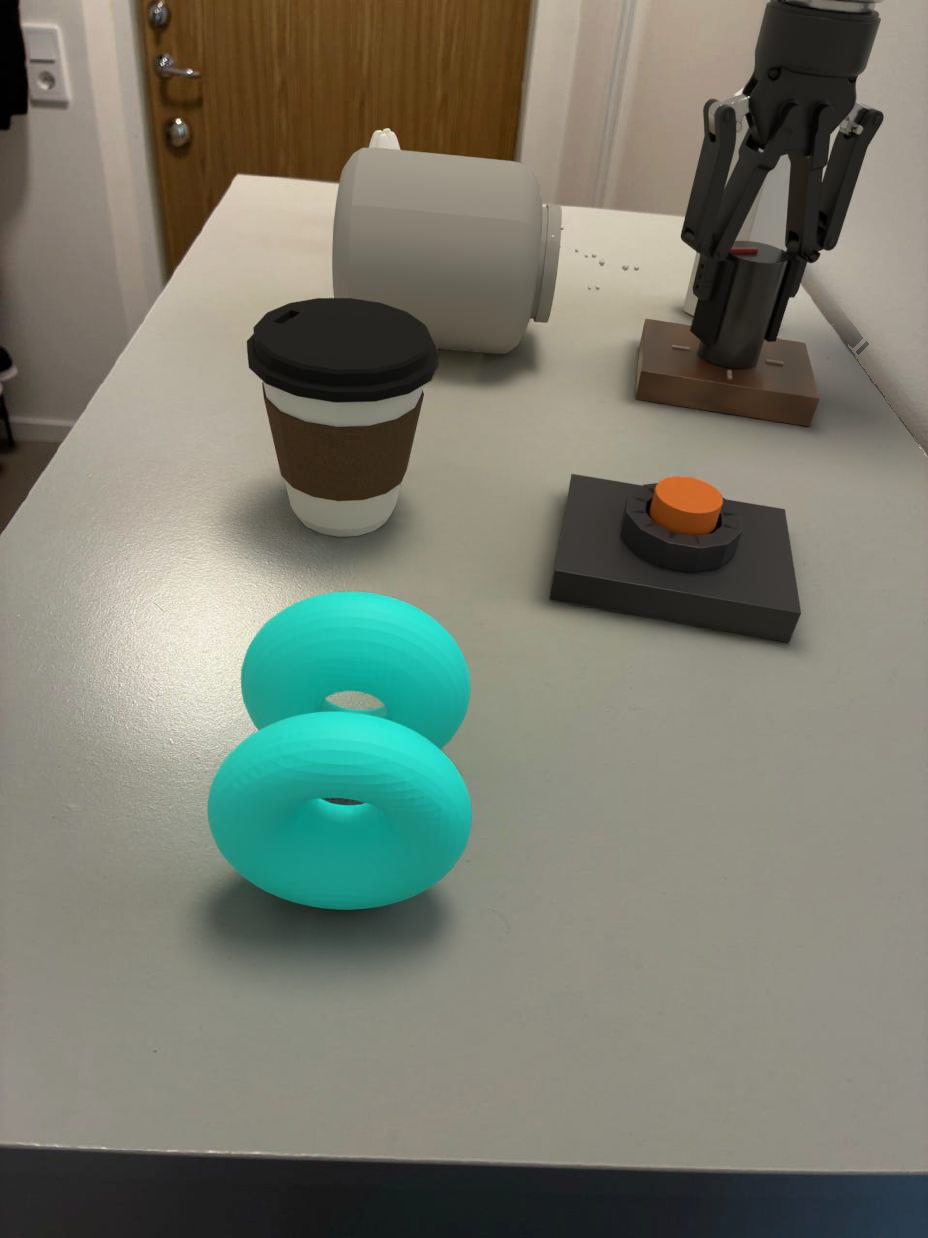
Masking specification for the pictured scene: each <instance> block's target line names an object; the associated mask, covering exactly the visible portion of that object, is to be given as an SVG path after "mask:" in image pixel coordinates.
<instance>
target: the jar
mask: <svg viewBox="0 0 928 1238" xmlns="http://www.w3.org/2000/svg"><path fill="white" fill-rule="evenodd" d="M338 183H339V184H338V188H337V194H336V201H335V208H334V217H333V227H332V246H331V248H332V249H331V272H332V273H331V274H332V275H331V278H332V290H333V291H332V292H333V298H353V299H359V300H366V301H372V302H379V303H383V304H386V305H389V306H392V307H394V308H397V309H400V310H403V311H406V312H408V313H409V314H411V315H412V316H413V317H415V318H416V319H418V320H419V321H421V322H422V323H423V324H425V325H426V326H427V328H428V331H429V333H430V335H431V338H432V340H433V342H434V344H435V346H436V349H441V350H451V351H453V350H454V351H463V352H474V353H484V354H506V353H508V352H510V351H512V350H514V349H515V348H516V347H517V346H518V345H519V343H520V342H521V341H522V339H524V336H525V334H526V331H527V329H528V327H529V323H530V320H531V319H532V320H533V322H534V323H545V324H547V323H548V322H549V320H550V317H551V313H552V308H553V303H554V297H555V292H556V291H555V290H556V284H557V277H558V269H559V261H560V251H561V250H560V249H561V242H562V241H561V240H562V231H563V230H564V229H565V227H564V226H563V225H562V223H563V211H562V205H559V204H548V203H547V204H546V206H543V200H542V193H541V186H540V183H539V181H538V179H537V176H536V175H535V173H534V171H533V170H532V169H531V168H530V167H529V166H528V165H527V164H525V163H522V162H518V161H514V160H507V159H506V160H505V159H494V158H485V157H476V156H475V157H474V156H465V155H454V154H446V153H445V154H444V153H435V152H425V151H424V152H423V151H417V150H416V151H415V150H406V149H405V150H404V149H400V150H395V149H385V148H369V147H361V148H360V149H358V150H357V151H355V152H353V153H352V155H350V157H349V159H348V161H347V162H346V163H345V164H344V166H343V168H342V170H341V174H340V177H339V182H338ZM574 252H575V253H579V248H575V249H574ZM588 257H589V254H588V253H586V254H584V258H586V259H588ZM591 258H593V259H595V258H597V254H596V253H595V252H593V253H592V254H591ZM605 263H606V262H605V260H604V259H600V260H599V262H598V264H599V266H600V267H603V266H604V265H605ZM621 269H622V270H623V271H628V270H629V269H630V265H629V264H627V263H624V264H623V265H622V267H621ZM633 270H634V271H636V272H637V271H639V270H640V266H639V265H637V264H636V265H634V267H633ZM600 289H601V286H600V285H596V286H595V290H596V291H599V290H600ZM587 290H588V291H592V286H588V287H587Z"/></svg>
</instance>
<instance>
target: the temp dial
mask: <svg viewBox="0 0 928 1238" xmlns="http://www.w3.org/2000/svg"><path fill="white" fill-rule="evenodd" d="M727 257H728V258H729V259H731V260H732V261H733V262H735V266H734V270H733V274H732V278H731V281H730V285H729V289H728V293H727V296H726V300H725V304H724V308H723V311H722V315H721V319H720V323H719V326H718V330H717V334H716V338H715V341H714V344H713V345H705V344H704V343H703V342H702V341H701V340H700V342H699V346H698V353H699V355H700V356H701V357H702V358H704V359H705V360H707V361H709V362H711V363H713V364H716V365H719V366H723V367H728V368H749V367H752V366H754V365H756V364H757V362H758V359H759V356H760V353H761V349H762V346H763V343H764V339H765V336H766V333H767V329H768V326H769V323H770V320H771V316H772V313H773V310H774V306H775V303H776V300H777V296H778V293H779V290H780V286H781V283H782V280H783V276H784V273H785V270H786V266H787V263H788V260H789V256H788V254H787V253H785V252H784V251H783V250H781V249H779V248H776V247H774V246H771V245H768V244H764V243H759V242H753V241H735V242H734V244H733V246H732V248H731V250H730V252H729V254H728V256H727Z"/></svg>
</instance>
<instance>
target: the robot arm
mask: <svg viewBox="0 0 928 1238" xmlns="http://www.w3.org/2000/svg"><path fill="white" fill-rule="evenodd" d="M884 1H885V0H770V1H768V2H766V5H765V8H764V12H763V17H762V21H761V25H760V29H759V32H758V37H757V41H756V45H755V49H754V67H753V71H752V74H751V75H750V78H749V80H747V82H746V84H745V85H744V86H743V87H744V89H743V91H742V94H741V95H738V96H736V97H733V96H732V97H730V98H728V99H724V100H722V101H721V100H719V99H716V98H710V99H708V100H707V101H706V102H705V103H704V105H703V108H702V109H703V110H702V116H703V117H702V118H703V135H704V136H703V141H702V144H701V149H700V153H699V156H698V160H697V165H696V170H695V173H694V178H693V183H692V186H691V190H690V193H689V194H690V195H689V198H688V203H687V207H686V212H685V215H684V218H683V219H684V220H683V224H682V227H681V231H680V239H681V241H682V242H683V243H684V244H686V246H688V247H689V248H691V249H692V250H694V251H695V253H696V252H697V253H700V259H699V263H698V267H697V271H696V276H695V279H694V280H695V281H694V283H693V294H694V295H695V296H696V297H697V298H698V301H697V305H696V309H695V313H694V317H693V316H692V322H691V329H690V331H691V332H692V333H693V334H694V335H695V336H696V337H697V338H698V339H699V340H701V341H702V342H703V343H704V344H705V345H713V344H714V341H715V338H716V334H717V330H718V326H719V323H720V319H721V315H722V311H723V308H724V304H725V300H726V296H727V293H728V289H729V285H730V281H731V278H732V274H733V270H734V266H735V262H733V261H732V260H731V259H729V258H728V257H727V256H728V254H729V252H730V250H731V248H732V246H733V244H734V242H735V240H736V238H737V236H738V234H739V232H740V230H741V227H742V225H743V223H744V221H745V219H746V217H747V215H748V213H749V211H750V209H751V207H752V205H753V203H754V201H755V199H756V197H757V195H758V192H759V190H760V188H761V186H762V184H763V182H764V180H765V178H766V176H767V174H768V172H769V171H771V170H773V169H774V168H775V167H776V165H777V163H778V161H779V159H780V157H781V156H783V155H786V154H788V158H789V160H790V163H791V166H790V179H789V193H788V206H787V220H786V233H785V247H786V248H787V250H786V252H785V251H784V250H783V251H784V252H785V253H787V254H788V256H789V260H788V263H787V266H786V270H785V273H784V276H783V280H782V283H781V286H780V290H779V293H778V296H777V300H776V303H775V306H774V310H773V313H772V316H771V320H770V323H769V326H768V329H767V333H766V336H765V340H766V341H767V342H776V339H777V338H778V335H779V333H780V329H781V326H782V322H783V320H784V316H785V313H786V311H787V307H788V303H789V300H790V299H791V298H795V297H796V295H797V294H798V292H799V290H800V287H801V284H802V280H803V277H804V275H805V274H804V273H805V271H806V268H807V264H808V263H809V264H814V263H815V262H817V261H818V260H819V259H820V257H821V252H822V251H823V250H825V251H827V252H830V251H832V250H833V249H835V248H836V246H837V245H838V242H839V239H840V235H841V232H842V229H843V226H844V223H845V220H846V217H847V213H848V211H849V207H850V205H851V201H852V198H853V194H854V191H855V188H856V185H857V182H858V179H859V176H860V172H861V170H862V166H863V163H864V159H865V156H866V154H867V150H868V147H869V146H870V144H871V143H872V140H873V139H874V137H875V136H876V134H877V132H878V131H879V129H880V128H881V125H882V124H883V122H884V117H885V116H884V113H883V112H882V110H879V109H876V108H873V107H871V106H868V105H866V104H864V103H862V102H859V101H857V98H858V97H857V95H858V94H857V80H858V77H859V76H860V75H862V74H863V73H864V72H865V70H866V68H867V66H868V64H869V59H870V57H871V53H872V50H873V47H874V43H875V40H876V37H877V34H878V31H879V28H880V25H881V21H882V18H881V17H880V12H878V10H875V7H876V4H880V3H883V2H884ZM744 116H745V117H746V120H747V123H748V126H749V128H748V130H747V132H746V135H745V137H744V139H743V141H742V143H741V145H740V148H739V151H738V154H739V158H738V161H737V163H736V165H735V167H734V170H733V172H732V174H731V176H730V178H729V180H728V182H727V185H726V181H727V177H728V173H729V169H730V166H731V162H732V158H733V154H734V149H735V144H736V132H740V131H741V130H742V124H741V123H742V119H743V117H744ZM838 127H839V129H838V132H837V134H836V135H835V138H834V140H833V144H832V147H831V150H830V144H831V135H832V134H833V133H834V132H835V130H836V129H837V128H838ZM759 148H760V149H762V150H763V152H760V151H759ZM824 169H825V171H824ZM823 172H824V174H823ZM725 185H726V187H725ZM781 250H782V249H781Z"/></svg>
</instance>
